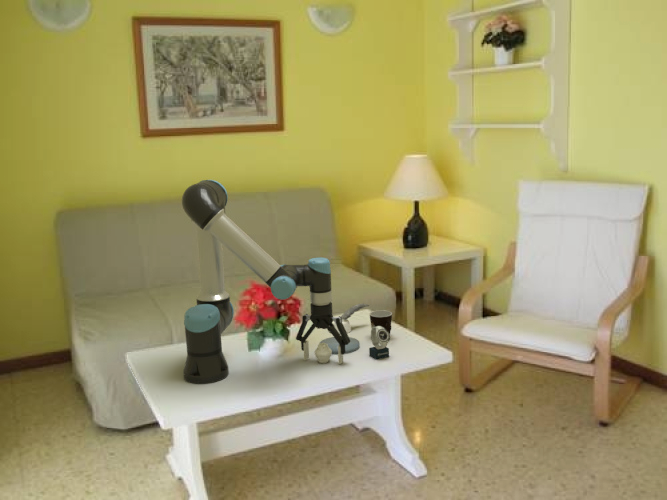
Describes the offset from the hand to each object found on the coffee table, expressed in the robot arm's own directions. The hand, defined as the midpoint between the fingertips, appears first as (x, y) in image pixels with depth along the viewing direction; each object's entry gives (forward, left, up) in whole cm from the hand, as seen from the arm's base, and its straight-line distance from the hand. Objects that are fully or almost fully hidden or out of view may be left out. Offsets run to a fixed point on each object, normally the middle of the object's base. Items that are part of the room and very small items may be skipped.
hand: (323, 361), depth 246 cm
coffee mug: (+28, +10, 0) cm, 30 cm away
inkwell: (+23, +28, 0) cm, 36 cm away
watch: (+19, -5, 0) cm, 20 cm away
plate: (+11, +11, 0) cm, 15 cm away
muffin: (0, 0, 0) cm, 0 cm away
